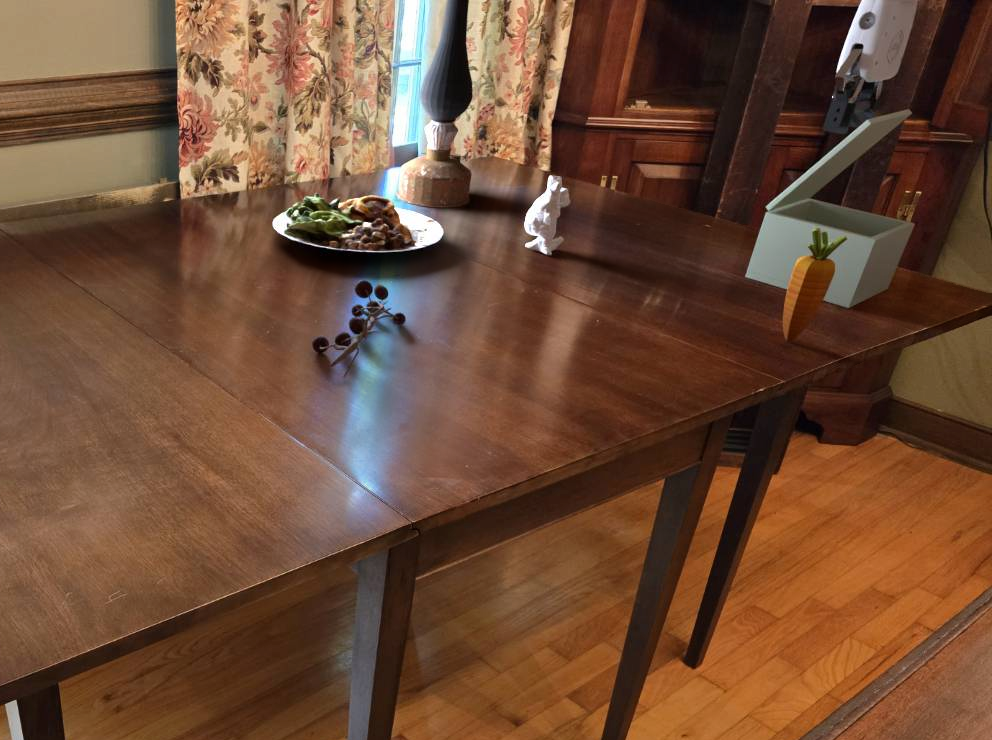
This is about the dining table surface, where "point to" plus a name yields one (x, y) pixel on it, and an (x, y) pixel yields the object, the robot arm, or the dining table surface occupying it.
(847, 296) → the grey-green storage box
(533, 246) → the white kangaroo figurine
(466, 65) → the oil lamp
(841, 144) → the box lid
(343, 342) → the decorative branch
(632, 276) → the dining table surface
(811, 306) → the carrot
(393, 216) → the plate of food
